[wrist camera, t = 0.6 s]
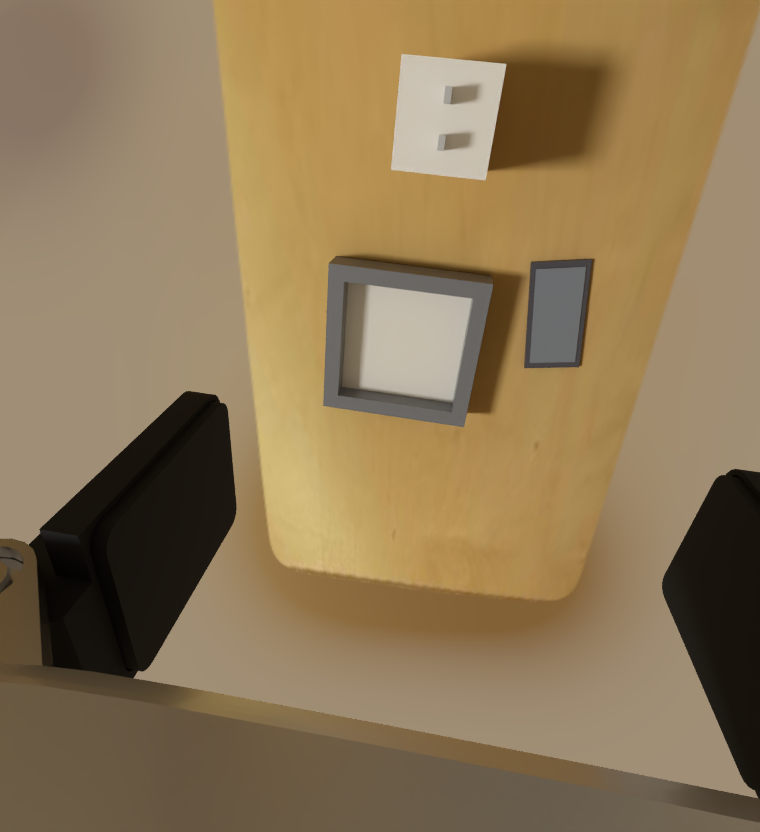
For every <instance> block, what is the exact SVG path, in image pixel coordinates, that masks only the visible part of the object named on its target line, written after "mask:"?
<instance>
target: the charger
mask: <svg viewBox="0 0 760 832" xmlns="http://www.w3.org/2000/svg"><path fill="white" fill-rule="evenodd" d="M505 70H506V64H502V63H491V62H481V61H470V60H459V59H449V58H438V57H427V56H417V55H406V54H402V56H401V67H400V78H399V89H398V100H397V111H396V122H395V133H394V144H393V155H392V166H391V170H398V171H407V172H416V173H425V174H434V175H443V176H451V177H460V178H469V179H478V180H486V175H487V170H488V164H489V159H490V153H491V148H492V142H493V137H494V131H495V125H496V120H497V114H498V109H499V103H500V98H501V92H502V87H503V81H504V75H505Z"/></svg>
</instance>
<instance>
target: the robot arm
mask: <svg viewBox="0 0 760 832" xmlns="http://www.w3.org/2000/svg"><path fill="white" fill-rule="evenodd" d="M233 475H234V474H233V463H232V452H231V441H230V430H229V418H228V410H227V406H226V405H225V404H224V403H220V401H219V399H218V397H217V396H216V395H212V394H204V393H198V392H191V391H186V392H185V393H183V394H182V395H181V396H180V397H179V398H178V399H177V400H176V401H175V402H174V403H173V404H172V405H171V406H169V407H168V408H167V409H166V410H165V411H164V412H163V413H162V414H161V415H160V416H159V417H158V418H157V419H156V420H155V421H154V422H153V423H151V424H150V425H149V426H148V427H147V428H146V429H145V430H144V431H143V432H142V433H141V434H140V435H139V436H138V437H137V438H136V439H134V441H132V442H131V443H130V444H129V445H128V446H127V447H126V448H125V449H124V450H123V451H122V452H121V453H120V454H119V455H118V456H116V457H115V458H114V459H113V460H112V461H111V462H110V463H109V464H108V465H107V466H106V467H105V468H104V469H103V470H102V471H101V472H100V473H98V474H97V475H96V476H95V477H94V478H93V479H92V480H91V481H90V482H89V483H88V484H87V485H86V486H85V487H84V488H83V489H82V490H80V492H78V493H77V494H76V495H75V496H74V497H73V498H72V499H71V500H70V501H69V502H68V503H67V504H66V505H65V506H64V507H63V508H61V509H60V510H59V511H58V512H57V513H56V514H55V515H54V516H53V517H52V518H51V519H50V520H49V521H48V522H47V523H46V524H45V525H43V526H42V527H41V528H40V534H39V535H38V536H37V537H36V538H35V539H34V540H33V541H32V542H31V543H30V544H29V545H28V544H26V543H25V542H22V541H18V540H14V539H0V832H760V472H753V471H746V470H739V469H734V470H731V471H729V472H728V473H727V474H726V475H721V476H719V477H718V478H716V480H715V481H714V483H713V485H712V487H711V488H710V490H709V492H708V494H707V496H706V498H705V500H704V502H703V503H702V505H701V507H700V509H699V511H698V513H697V515H696V517H695V519H694V520H693V522H692V525H691V526H690V528H689V530H688V532H687V534H686V536H685V537H684V539H683V541H682V543H681V545H680V547H679V549H678V550H677V552H676V554H675V556H674V558H673V560H672V562H671V564H670V566H669V568H668V570H667V571H666V573H665V575H664V578H663V582H662V590H663V594H664V598H665V600H666V602H667V605H668V607H669V609H670V612H671V614H672V616H673V619H674V621H675V623H676V626H677V628H678V630H679V633H680V635H681V637H682V640H683V642H684V644H685V647H686V649H687V651H688V654H689V656H690V658H691V660H692V663H693V665H694V667H695V670H696V672H697V675H698V677H699V679H700V681H701V684H702V686H703V689H704V691H705V693H706V695H707V698H708V700H709V703H710V705H711V707H712V710H713V711H714V714H715V716H716V719H717V721H718V723H719V726H720V728H721V730H722V733H723V735H724V737H725V740H726V742H727V744H728V747H729V749H730V751H731V754H732V756H733V758H734V761H735V763H736V765H737V768H738V770H739V772H740V775H741V776H742V778H743V780H744V782H745V783H746V784H747V786H748V787H750V788H752V789H753V790H755V791H756V794H757V796H758V798H759V799H758V798H753V797H748V796H743V795H738V794H733V793H728V792H723V791H718V790H713V789H708V788H703V787H698V786H693V785H688V784H683V783H678V782H673V781H668V780H663V779H658V778H653V777H648V776H643V775H638V774H633V773H628V772H623V771H618V770H614V769H608V768H604V767H598V766H593V765H588V764H583V763H578V762H573V761H568V760H563V759H558V758H553V757H547V756H542V755H537V754H532V753H527V752H522V751H517V750H511V749H507V748H501V747H496V746H491V745H485V744H481V743H476V742H471V741H465V740H460V739H455V738H450V737H444V736H440V735H435V734H429V733H424V732H418V731H413V730H409V729H403V728H398V727H393V726H388V725H383V724H378V723H373V722H367V721H362V720H357V719H352V718H346V717H341V716H336V715H330V714H325V713H320V712H315V711H309V710H303V709H299V708H293V707H288V706H283V705H278V704H272V703H267V702H262V701H256V700H251V699H246V698H240V697H235V696H230V695H224V694H219V693H214V692H209V691H204V690H198V689H192V688H186V687H180V686H174V685H169V684H163V683H157V682H151V681H145V680H139V679H133V678H134V676H135V675H136V673H137V671H144V670H146V669H147V668H148V667H149V666H150V665H151V663H152V662H153V660H154V658H155V657H156V655H157V653H158V651H159V650H160V648H161V646H162V645H163V643H164V641H165V639H166V638H167V636H168V634H169V632H170V631H171V629H172V627H173V626H174V624H175V622H176V621H177V619H178V617H179V615H180V614H181V612H182V610H183V609H184V607H185V605H186V603H187V602H188V600H189V598H190V596H191V595H192V593H193V591H194V590H195V588H196V586H197V584H198V583H199V581H200V579H201V578H202V576H203V574H204V572H205V571H206V569H207V567H208V566H209V564H210V562H211V561H212V559H213V557H214V555H215V554H216V552H217V550H218V548H219V547H220V545H221V543H222V542H223V540H224V538H225V537H226V535H227V533H228V531H229V530H230V528H231V526H232V524H233V522H234V519H235V515H236V496H235V485H234V476H233Z"/></svg>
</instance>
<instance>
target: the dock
mask: <svg viewBox="0 0 760 832" xmlns="http://www.w3.org/2000/svg"><path fill="white" fill-rule="evenodd" d="M492 289H493V280H492V276H487V275H479V274H471V273H463V272H456V271H448V270H440V269H432V268H424V267H416V266H408V265H401V264H393V263H385V262H377V261H369V260H361V259H354V258H346V257H338V256H336V257H335V258H334V259H333V260H332V261H331V262H330V263H329V272H328V298H327V325H326V352H325V378H324V405H323V406H328V407H335V408H341V409H348V410H354V411H361V412H368V413H374V414H381V415H387V416H394V417H401V418H407V419H414V420H420V421H427V422H434V423H440V424H447V425H453V426H460V427H464V424H465V419H466V414H467V410H468V405H469V400H470V395H471V390H472V386H473V381H474V376H475V371H476V366H477V361H478V357H479V352H480V347H481V342H482V337H483V332H484V328H485V323H486V318H487V313H488V308H489V304H490V299H491V294H492Z"/></svg>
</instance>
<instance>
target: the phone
mask: <svg viewBox="0 0 760 832" xmlns="http://www.w3.org/2000/svg"><path fill="white" fill-rule="evenodd" d="M591 263H592V259H576V260H556V261H537V262H531V269H530V284H529V300H528V316H527V331H526V347H525V363H524V367H525V368H555V367H579V362H580V354H581V346H582V338H583V329H584V321H585V313H586V305H587V296H588V288H589V280H590V271H591Z"/></svg>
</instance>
